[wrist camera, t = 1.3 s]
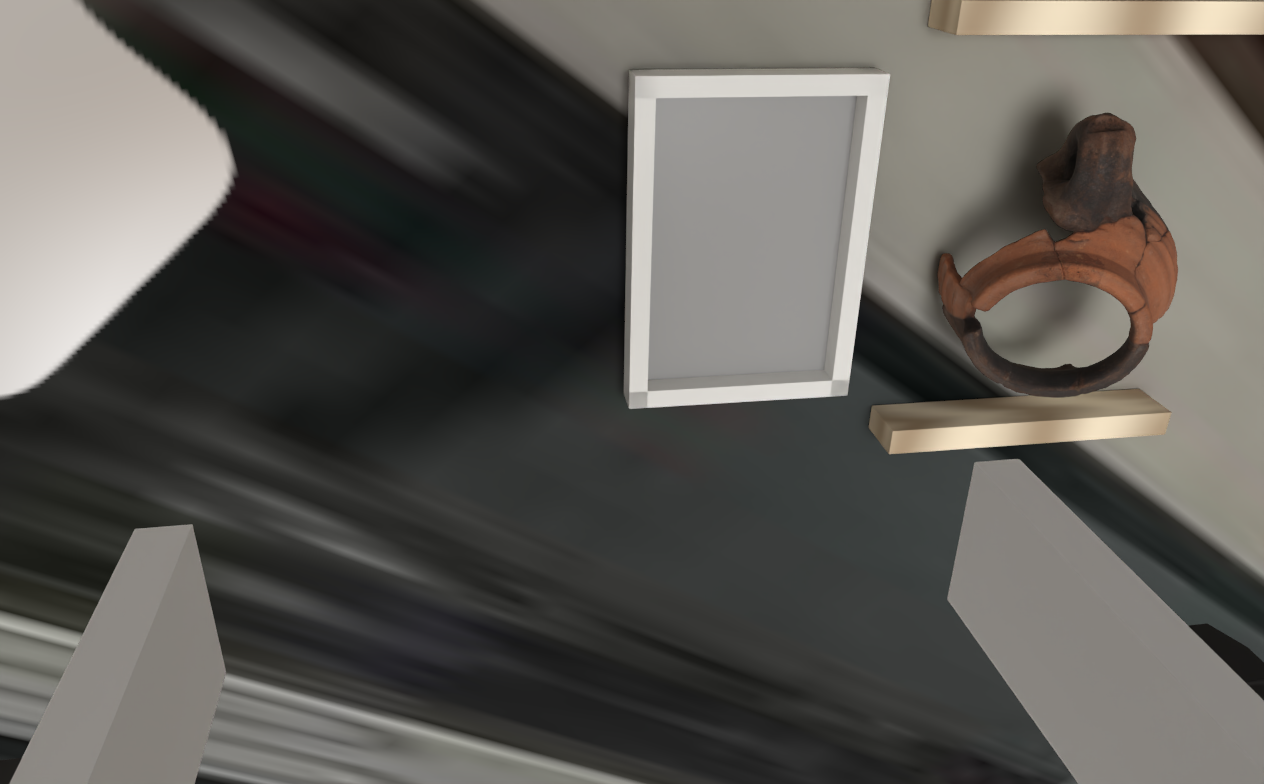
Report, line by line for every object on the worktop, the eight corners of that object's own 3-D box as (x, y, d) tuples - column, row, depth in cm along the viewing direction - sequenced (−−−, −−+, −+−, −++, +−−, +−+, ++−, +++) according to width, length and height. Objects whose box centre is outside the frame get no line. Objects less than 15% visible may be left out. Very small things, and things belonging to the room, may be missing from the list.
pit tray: (623, 393, 44) (629, 408, 43) (629, 69, 38) (635, 76, 36) (835, 380, 46) (847, 395, 44) (875, 67, 39) (890, 74, 38)
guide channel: (868, 427, 47) (889, 454, 45) (932, -7, 38) (961, 0, 36) (1132, 409, 49) (1164, 434, 47) (1251, -5, 40) (1297, 1, 38)
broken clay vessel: (1143, 295, 47) (1162, 420, 41) (937, 289, 50) (929, 406, 44) (1201, 59, 39) (1234, 177, 33) (949, 69, 41) (942, 179, 36)
